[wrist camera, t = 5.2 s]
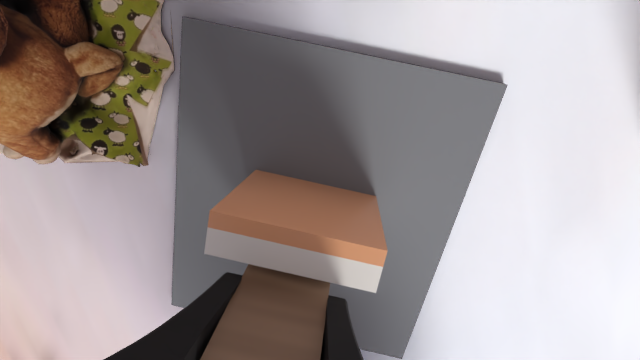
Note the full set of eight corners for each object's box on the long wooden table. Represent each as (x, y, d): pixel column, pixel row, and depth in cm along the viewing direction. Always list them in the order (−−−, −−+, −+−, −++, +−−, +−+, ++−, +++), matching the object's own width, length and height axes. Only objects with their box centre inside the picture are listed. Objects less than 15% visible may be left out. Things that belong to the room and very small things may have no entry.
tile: (368, 226, 18) (375, 293, 12) (251, 199, 18) (204, 253, 12) (376, 196, 18) (387, 250, 12) (256, 169, 18) (209, 210, 12)
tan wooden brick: (322, 298, 17) (296, 463, 10) (258, 283, 17) (192, 438, 10) (335, 242, 16) (316, 388, 9) (267, 227, 16) (199, 361, 9)
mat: (401, 353, 22) (401, 358, 21) (174, 300, 22) (171, 304, 22) (503, 83, 15) (507, 84, 15) (186, 17, 16) (182, 16, 16)
